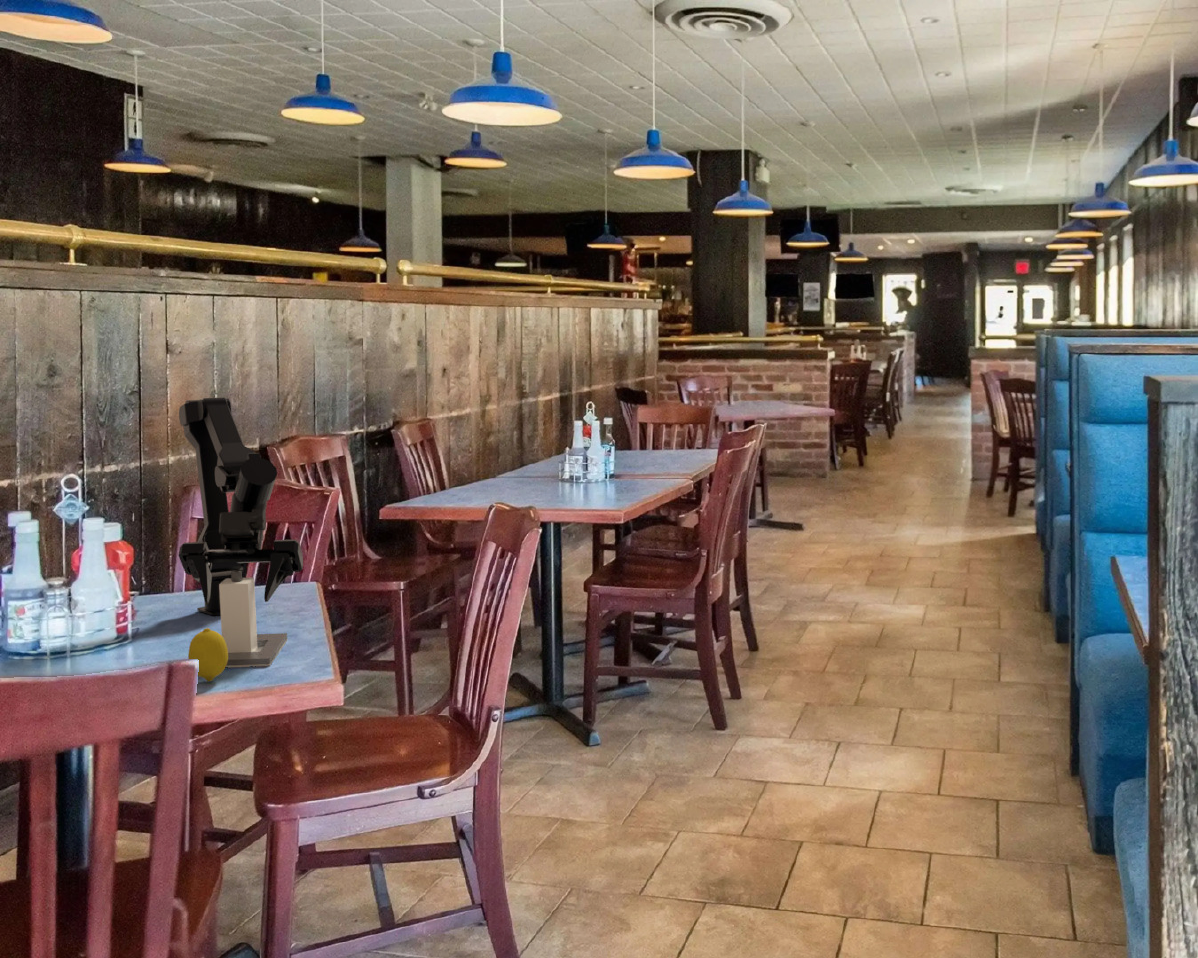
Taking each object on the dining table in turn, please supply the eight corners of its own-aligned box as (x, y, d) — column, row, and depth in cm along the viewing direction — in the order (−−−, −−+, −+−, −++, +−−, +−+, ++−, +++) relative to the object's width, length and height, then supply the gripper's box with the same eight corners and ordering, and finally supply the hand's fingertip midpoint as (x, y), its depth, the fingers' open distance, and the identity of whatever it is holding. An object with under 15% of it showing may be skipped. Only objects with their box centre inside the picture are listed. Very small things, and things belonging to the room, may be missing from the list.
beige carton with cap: (229, 648, 199) (225, 569, 197) (257, 647, 199) (253, 568, 198) (222, 656, 194) (218, 575, 193) (251, 655, 194) (247, 574, 193)
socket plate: (213, 642, 204) (213, 635, 204) (287, 640, 205) (287, 633, 205) (189, 668, 188) (189, 661, 188) (269, 665, 189) (269, 658, 189)
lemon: (237, 677, 183) (234, 625, 182) (213, 688, 178) (210, 633, 177) (205, 675, 185) (202, 622, 184) (181, 685, 180) (178, 631, 179)
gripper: (178, 492, 197) (163, 574, 187) (297, 490, 198) (288, 570, 189) (192, 533, 206) (179, 613, 196) (306, 530, 207) (299, 609, 197)
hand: (236, 601), depth 194 cm, fingers open, 9 cm apart
